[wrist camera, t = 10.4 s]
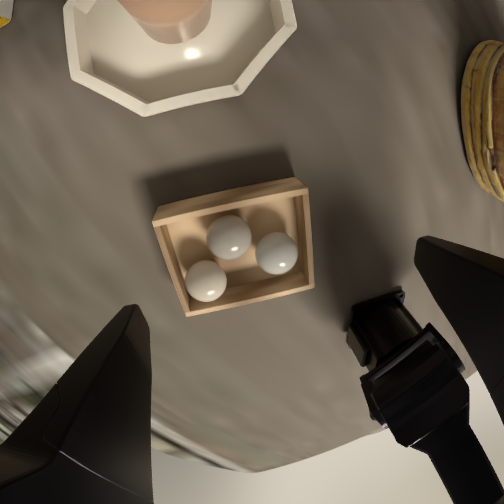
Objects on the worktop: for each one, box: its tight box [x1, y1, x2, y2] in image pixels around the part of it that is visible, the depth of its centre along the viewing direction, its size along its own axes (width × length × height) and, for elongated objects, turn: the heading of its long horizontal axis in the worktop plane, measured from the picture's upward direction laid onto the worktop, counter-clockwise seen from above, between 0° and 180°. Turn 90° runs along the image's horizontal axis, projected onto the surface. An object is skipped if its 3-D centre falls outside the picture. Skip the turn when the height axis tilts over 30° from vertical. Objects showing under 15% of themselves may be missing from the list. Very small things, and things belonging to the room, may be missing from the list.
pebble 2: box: [206, 215, 252, 260], centre depth 19 cm, size 3×3×3 cm
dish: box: [63, 0, 297, 117], centre depth 12 cm, size 13×13×3 cm
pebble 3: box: [255, 232, 298, 275], centre depth 20 cm, size 3×3×3 cm
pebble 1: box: [185, 260, 227, 302], centre depth 21 cm, size 3×3×3 cm
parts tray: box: [152, 177, 314, 317], centre depth 21 cm, size 10×8×3 cm
